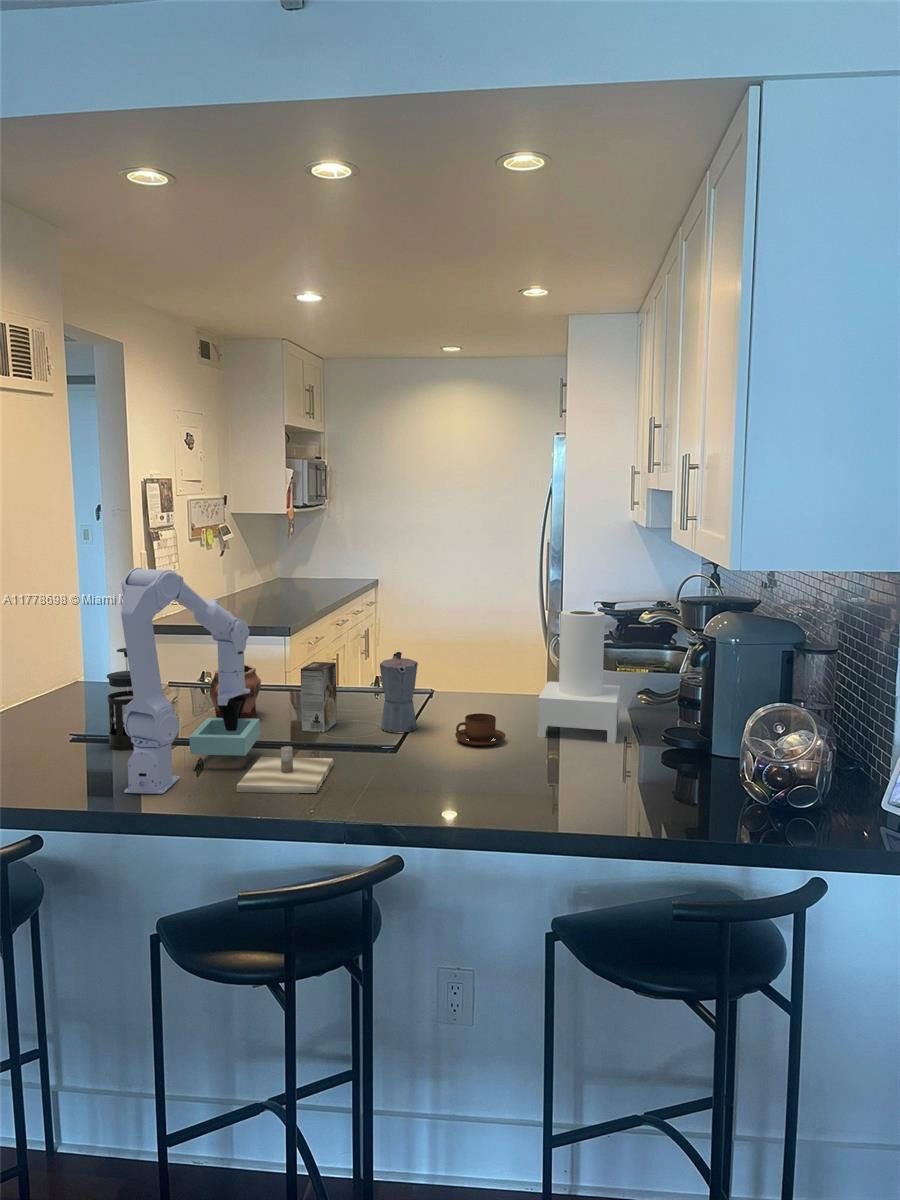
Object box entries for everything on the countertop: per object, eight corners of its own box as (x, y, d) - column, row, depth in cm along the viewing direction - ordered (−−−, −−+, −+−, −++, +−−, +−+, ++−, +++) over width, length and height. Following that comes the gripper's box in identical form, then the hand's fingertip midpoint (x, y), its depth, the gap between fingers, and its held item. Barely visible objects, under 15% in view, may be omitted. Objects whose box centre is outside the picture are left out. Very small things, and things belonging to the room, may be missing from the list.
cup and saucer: (477, 752, 198) (478, 726, 197) (445, 741, 207) (445, 716, 206) (515, 743, 206) (515, 718, 205) (482, 732, 215) (482, 708, 214)
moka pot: (385, 738, 208) (384, 657, 206) (373, 721, 223) (373, 646, 221) (423, 735, 211) (423, 655, 208) (409, 719, 226) (409, 644, 223)
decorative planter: (244, 732, 213) (242, 677, 211) (197, 730, 214) (195, 676, 212) (270, 712, 232) (269, 661, 231) (226, 710, 234) (225, 660, 232)
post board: (316, 793, 170) (316, 762, 169) (236, 792, 171) (236, 760, 170) (333, 765, 188) (332, 736, 187) (261, 763, 189) (260, 734, 188)
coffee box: (314, 721, 223) (313, 661, 221) (337, 723, 222) (336, 662, 220) (301, 731, 214) (300, 668, 212) (325, 732, 213) (324, 669, 211)
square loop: (245, 755, 184) (244, 737, 183) (190, 754, 184) (189, 736, 183) (260, 735, 195) (259, 718, 194) (208, 734, 196) (207, 717, 195)
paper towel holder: (537, 737, 210) (539, 616, 206) (547, 718, 228) (549, 606, 224) (615, 743, 206) (619, 619, 202) (618, 723, 224) (622, 609, 220)
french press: (98, 749, 198) (93, 651, 195) (119, 737, 208) (115, 644, 205) (145, 751, 197) (141, 653, 194) (165, 740, 206) (161, 645, 203)
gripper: (239, 677, 185) (240, 738, 187) (257, 664, 200) (258, 720, 201) (207, 676, 186) (209, 737, 187) (227, 663, 200) (229, 720, 202)
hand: (232, 729), depth 194 cm, fingers closed on square loop, 2 cm apart
